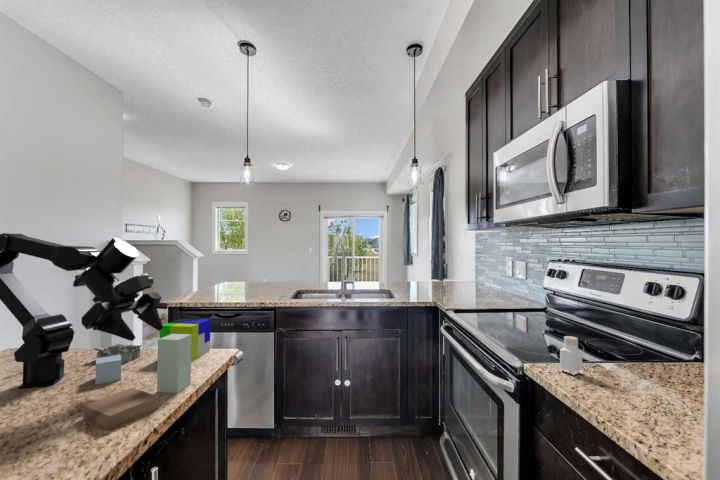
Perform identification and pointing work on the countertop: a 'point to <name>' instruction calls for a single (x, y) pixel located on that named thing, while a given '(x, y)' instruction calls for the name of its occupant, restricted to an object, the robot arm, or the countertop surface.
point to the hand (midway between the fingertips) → (148, 334)
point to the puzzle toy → (194, 327)
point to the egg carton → (120, 352)
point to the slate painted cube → (108, 369)
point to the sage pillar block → (174, 363)
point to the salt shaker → (571, 355)
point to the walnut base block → (120, 408)
